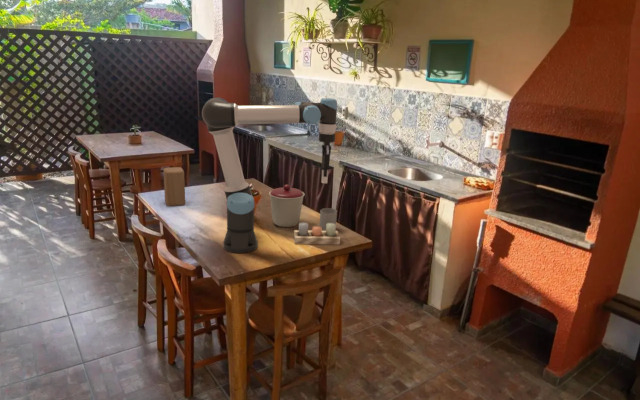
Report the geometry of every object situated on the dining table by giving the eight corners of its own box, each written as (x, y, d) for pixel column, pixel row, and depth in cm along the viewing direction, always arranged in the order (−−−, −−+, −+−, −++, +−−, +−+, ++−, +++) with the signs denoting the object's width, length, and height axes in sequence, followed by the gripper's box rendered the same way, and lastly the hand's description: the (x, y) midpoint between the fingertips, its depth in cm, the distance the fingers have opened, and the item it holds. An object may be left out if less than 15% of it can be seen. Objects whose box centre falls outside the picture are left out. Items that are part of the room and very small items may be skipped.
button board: (294, 243, 208) (295, 237, 207) (293, 236, 217) (294, 230, 216) (339, 244, 210) (340, 238, 209) (337, 236, 219) (337, 230, 219)
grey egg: (298, 235, 210) (299, 225, 208) (298, 232, 214) (298, 222, 212) (308, 235, 210) (308, 225, 209) (307, 232, 214) (307, 222, 213)
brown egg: (312, 239, 211) (312, 229, 209) (311, 236, 215) (312, 226, 214) (321, 239, 211) (322, 229, 210) (320, 236, 216) (321, 226, 214)
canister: (261, 225, 229) (261, 185, 223) (280, 216, 245) (281, 178, 239) (291, 232, 221) (293, 191, 215) (309, 222, 237) (311, 183, 231)
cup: (317, 227, 231) (318, 208, 228) (331, 225, 234) (333, 207, 231) (323, 232, 223) (324, 213, 221) (338, 231, 226) (339, 212, 223)
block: (164, 201, 258) (163, 167, 252) (182, 200, 262) (181, 166, 256) (167, 206, 249) (165, 171, 244) (185, 205, 254) (184, 170, 248)
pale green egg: (326, 236, 211) (327, 226, 210) (325, 232, 215) (325, 222, 214) (335, 236, 212) (336, 226, 210) (334, 232, 216) (335, 223, 214)
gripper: (337, 135, 200) (333, 186, 207) (333, 131, 213) (330, 179, 220) (320, 134, 200) (317, 186, 206) (317, 130, 212) (315, 179, 219)
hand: (324, 182), depth 213 cm, fingers closed
